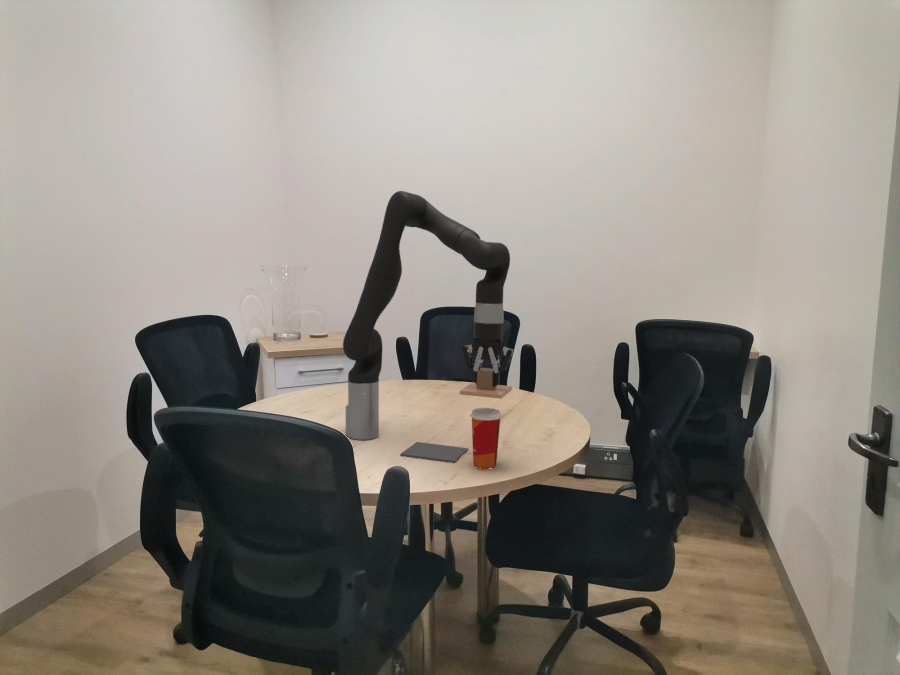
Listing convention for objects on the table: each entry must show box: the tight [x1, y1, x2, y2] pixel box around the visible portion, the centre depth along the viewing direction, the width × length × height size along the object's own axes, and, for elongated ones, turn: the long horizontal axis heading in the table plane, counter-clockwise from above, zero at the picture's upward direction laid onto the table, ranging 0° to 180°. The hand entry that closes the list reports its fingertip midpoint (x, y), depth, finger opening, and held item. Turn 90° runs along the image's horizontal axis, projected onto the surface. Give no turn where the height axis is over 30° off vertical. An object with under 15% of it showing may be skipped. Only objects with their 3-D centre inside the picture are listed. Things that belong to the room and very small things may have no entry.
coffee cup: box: [469, 407, 502, 470], centre depth 163 cm, size 8×8×15 cm
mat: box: [399, 441, 469, 464], centre depth 174 cm, size 16×12×1 cm
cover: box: [459, 367, 513, 400], centre depth 161 cm, size 11×11×6 cm
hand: (486, 385), depth 161 cm, fingers closed on cover, 4 cm apart
